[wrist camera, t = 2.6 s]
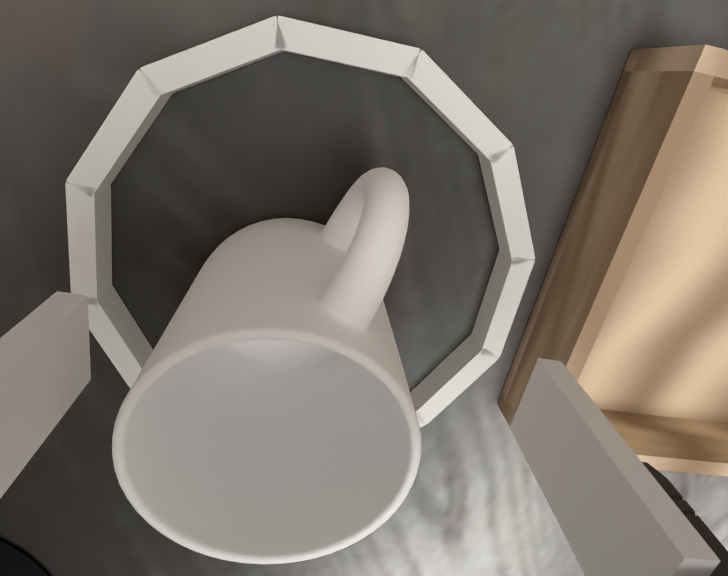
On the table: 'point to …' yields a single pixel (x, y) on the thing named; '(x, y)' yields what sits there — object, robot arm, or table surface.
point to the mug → (279, 391)
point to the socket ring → (280, 34)
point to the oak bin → (647, 267)
